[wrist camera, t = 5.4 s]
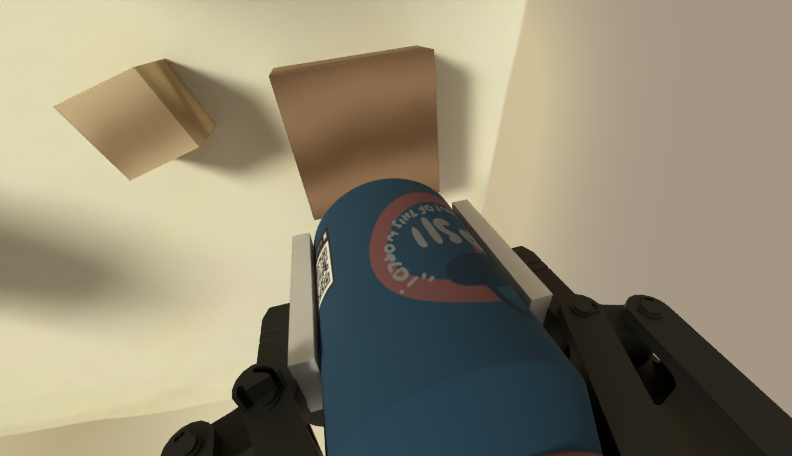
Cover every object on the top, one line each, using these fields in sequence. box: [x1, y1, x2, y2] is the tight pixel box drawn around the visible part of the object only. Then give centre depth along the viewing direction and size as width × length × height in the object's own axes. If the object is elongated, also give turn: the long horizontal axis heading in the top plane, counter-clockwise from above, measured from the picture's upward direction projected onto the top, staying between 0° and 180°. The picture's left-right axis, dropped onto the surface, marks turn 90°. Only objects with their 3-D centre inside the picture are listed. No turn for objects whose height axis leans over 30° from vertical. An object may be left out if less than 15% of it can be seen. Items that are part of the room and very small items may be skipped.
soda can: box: [314, 178, 604, 456], centre depth 11 cm, size 7×7×12 cm
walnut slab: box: [269, 46, 439, 220], centre depth 25 cm, size 11×11×4 cm
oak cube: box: [53, 59, 216, 180], centre depth 21 cm, size 5×5×5 cm
